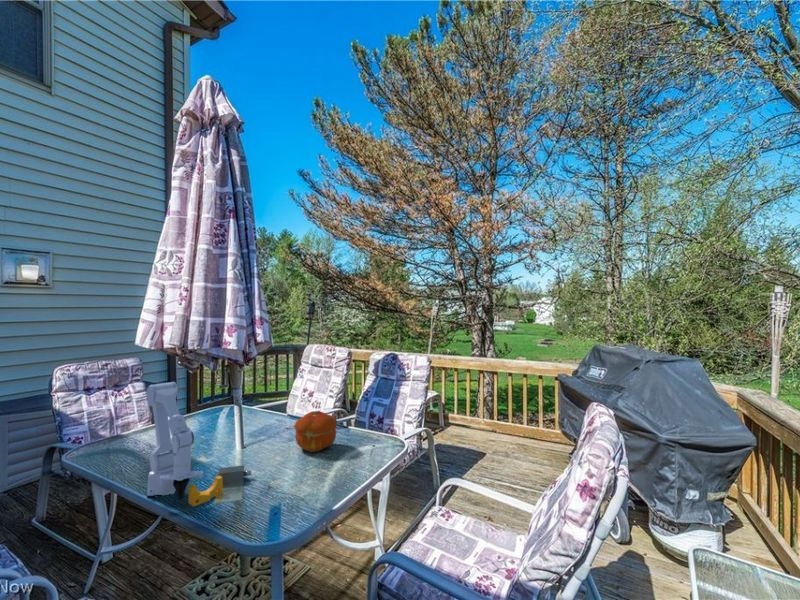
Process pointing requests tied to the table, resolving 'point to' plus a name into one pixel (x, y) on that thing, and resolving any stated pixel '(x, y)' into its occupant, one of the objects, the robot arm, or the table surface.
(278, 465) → the table surface
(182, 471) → the robot arm
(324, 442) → the pumpkin
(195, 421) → the table surface
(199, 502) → the pipe clamp
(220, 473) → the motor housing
